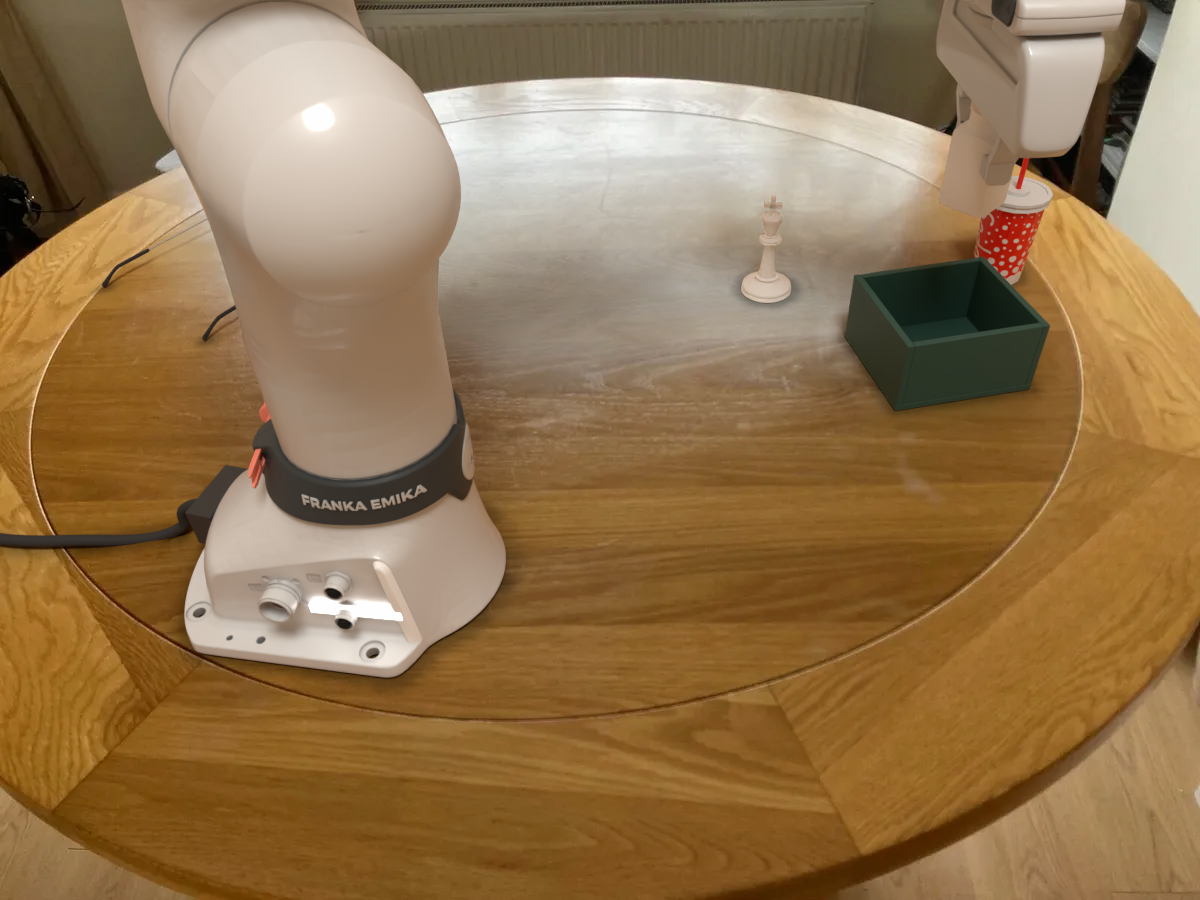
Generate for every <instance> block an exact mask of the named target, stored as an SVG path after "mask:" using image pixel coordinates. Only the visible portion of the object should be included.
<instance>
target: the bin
mask: <svg viewBox="0 0 1200 900" xmlns="http://www.w3.org/2000/svg"><path fill="white" fill-rule="evenodd" d="M852 279H853V281H852V287H851V293H850V300H849V306H848V313H847V319H846V325H845V333H844V338H845V339H846V341H847V342H848V344H849V345H850V347H851V348H852V350H853V351H854V352H855V354H856V356H857V357H858V358H859V360H860V362H861V364H862V365H863V366H864V367H865V369H866V370H867V372H868V374H869V375H870V377H871V378H872V380H873V381H874V382H875V384H876V385H877V387H878V388H879V390H880V391H881V393H882V394H883V395H884V397H885V398H886V401H887V402H888V403H889V405H890V406H891V408H892V409H893V411H895V412H898V411H903V410H905V411H906V410H910V409H916V408H923V407H929V406H935V405H940V404H948V403H953V402H959V401H965V400H967V401H968V400H972V399H978V398H984V397H990V396H996V395H1003V394H1009V393H1014V392H1021V391H1028V390H1030V389H1031V386H1032V383H1033V380H1034V378H1035V377H1034V376H1035V374H1036V371H1037V369H1038V368H1037V367H1038V364H1039V362H1040V359H1041V355H1042V352H1043V349H1044V346H1045V343H1046V341H1047V337H1048V334H1049V331H1050V328H1051V324H1050V323H1048V321H1047V320H1046V319H1045V318H1044V317H1043V316H1042V315H1041V314H1040V313H1039V312H1038V311H1037V310H1036V309H1035V308H1034V307H1033V306H1032V305H1031V304H1030V303H1029V302H1028V301H1027V299H1026V298H1025V297H1024V296H1022V295H1021V293H1019V291H1018V290H1017V289H1015V287H1014V286H1013V284H1012V285H1011V284H1010V283H1009V282H1008V281H1007V280H1006V279H1005V278H1004V277H1003V276H1002V275H1001V274H1000V273H999V272H998V271H997V270H996V269H995V268H994V267H993V266H992V265H991V264H990V263H989V262H988V261H987V260H986V259H985V258H984V257H978V258H974V257H971V258H964V259H957V260H950V261H942V262H937V263H929V264H928V263H927V264H921V265H916V266H908V267H901V268H894V269H887V270H880V271H874V272H873V271H872V272H866V273H861V274H860V273H859V274H853V278H852Z"/></svg>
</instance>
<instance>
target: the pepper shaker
mask: <svg viewBox="0 0 1200 900" xmlns="http://www.w3.org/2000/svg"><path fill="white" fill-rule="evenodd" d="M970 109H971V113H970V118H969V120H967V121H965V122H963V123H962V124H960V125H959V126H958V127H957V128H956V127H955V128H954V130H953V132H952V135H951V139H950V144H949V148H948V153H947V158H946V162H945V166H944V167H945V168H944V173H943V178H942V180H941V181H942V182H941V186H940V191H939V196H938V203H939V204H940V205H941V206H943V207H945V208H948V209H951V210H953V211H956V212H959V213H961V214H964V215H967V216H970V217H972V218H976V219H977V218H979V219H980V218H981V217H984V216H985V215H987V214H988V213H990V212H991V211H993V210H995V209H996V208H998V207H999V206H1001V205H1002V204H1003V203H1004V202H1005V200H1006V197H1007V193H1008V189H1009V185H1010V182H1011V179H1010V181H1009V182H1008V183H1007V184H1005V185H996V186H989V185H987V184H986V183H985V181H984V180H983V178H982V176H981V175H980V169H981V167H982V160H983V156H984V155H986V154H990V152H991V149H992V147H993V145H994V143H995V141H994V140H993V133H994V129H993V128H992V126H991V125H990V124H989V122H988V121H987V120H986V119H985V117H984V116H983V115H982V113H981V112H980V111H979V110H978V108H977V107H976V106H975V104H974V103H973V102H971V107H970ZM1015 167H1016V163H1015V164H1014V168H1013V171H1012V175H1011V178H1012V176H1013V174H1014V170H1015Z"/></svg>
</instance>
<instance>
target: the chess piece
mask: <svg viewBox="0 0 1200 900" xmlns="http://www.w3.org/2000/svg"><path fill="white" fill-rule="evenodd" d="M763 209H769V210H768V211H765V212H763V213H762V214H761V215H760V219H761V223H762V226H763V231H764V233H762V234H760V235H759V237H758V242H759V243H760V244H762V245H763V251H762V255H761V256H762V257H761V260H760V266H759V269H758V271H752V272H750V273H749V274H747V275H746V276H744V277H743V279H742V280H741V281H742V282H741V286H740V291H741V293H742V295H743V296H745V297H746V298H747V299H749V300H750V301H753V302H757V303H761V304H763V303H764V304H773V303H778V302H781V301H783V300H785V299H787V298H788V297H790V295H791V293H792V283H791V280H790V279H789V278H788V276H786V275H785V274H783V273H781V272H778V271H777V268H776V267H777V266H776V246H778V245H779V244H781V243H782V237H781V235H780V234H778V233H777V232H778V231H779V228H780V226H781V224H782V222H783V220H784V216H783V215H782V213H781V212H779V211H776V210H782V209H783V202H782V201H781V202H780V201H779V202H778V201H777V195H771V196H770V201H763Z"/></svg>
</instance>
